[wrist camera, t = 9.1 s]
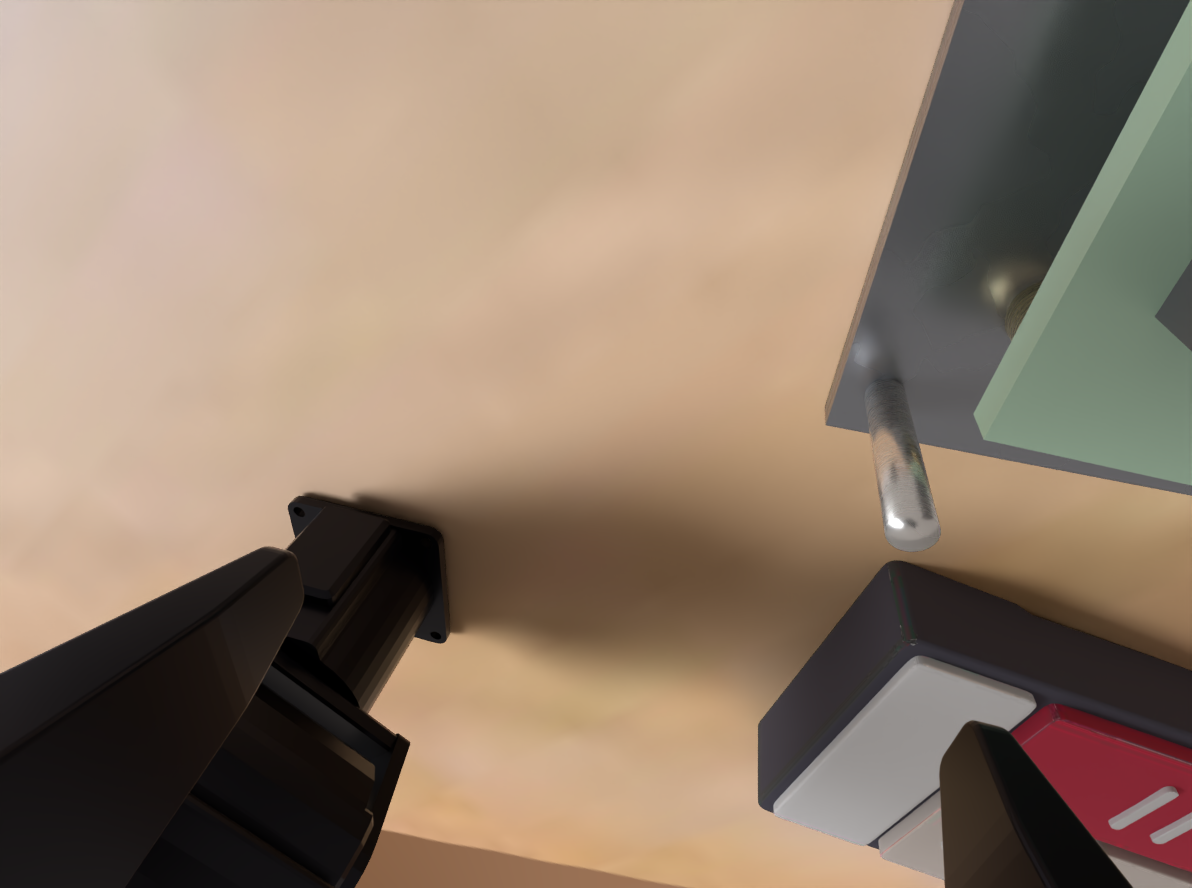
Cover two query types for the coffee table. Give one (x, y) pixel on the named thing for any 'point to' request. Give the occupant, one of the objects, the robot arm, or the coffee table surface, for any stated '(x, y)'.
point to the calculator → (987, 694)
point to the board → (1116, 305)
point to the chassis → (985, 228)
